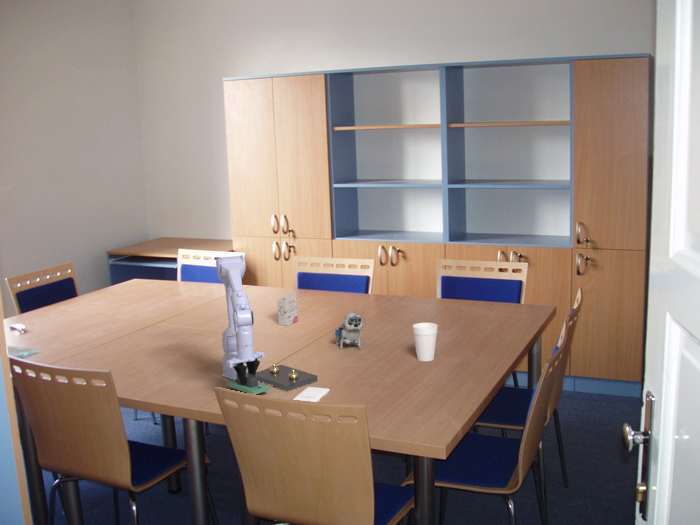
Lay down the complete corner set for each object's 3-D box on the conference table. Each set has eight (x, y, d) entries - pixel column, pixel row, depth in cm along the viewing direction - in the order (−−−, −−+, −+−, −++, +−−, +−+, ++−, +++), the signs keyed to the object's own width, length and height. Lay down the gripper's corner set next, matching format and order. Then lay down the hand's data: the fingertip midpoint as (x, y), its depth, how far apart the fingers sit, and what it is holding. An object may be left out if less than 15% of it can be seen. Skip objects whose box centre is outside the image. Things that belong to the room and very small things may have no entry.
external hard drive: (329, 393, 251) (314, 406, 240) (307, 391, 254) (292, 403, 243) (329, 388, 251) (314, 401, 239) (307, 386, 254) (291, 398, 242)
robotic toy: (340, 353, 293) (339, 317, 291) (332, 342, 310) (331, 307, 307) (372, 350, 296) (370, 314, 293) (362, 339, 313) (361, 304, 310)
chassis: (251, 379, 266) (250, 365, 266) (281, 369, 276) (280, 356, 275) (286, 391, 252) (286, 377, 252) (317, 381, 262) (316, 367, 261)
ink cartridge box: (289, 320, 349) (288, 289, 346) (298, 321, 346) (296, 290, 343) (278, 324, 342) (276, 293, 339) (286, 326, 339) (285, 294, 336)
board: (226, 385, 256) (225, 372, 255) (242, 380, 261) (242, 367, 260) (252, 395, 245) (252, 382, 245) (269, 389, 250) (268, 376, 249)
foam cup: (410, 361, 281) (409, 328, 278) (417, 354, 289) (416, 321, 287) (434, 363, 277) (433, 329, 275) (440, 356, 286) (440, 323, 283)
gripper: (234, 351, 243) (236, 390, 245) (269, 341, 252) (271, 379, 255) (221, 347, 247) (224, 386, 250) (256, 337, 257) (258, 375, 260)
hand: (247, 382), depth 253 cm, fingers closed on board, 3 cm apart
